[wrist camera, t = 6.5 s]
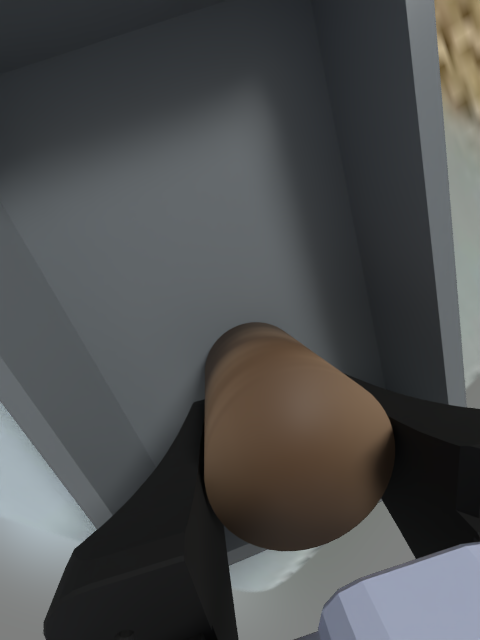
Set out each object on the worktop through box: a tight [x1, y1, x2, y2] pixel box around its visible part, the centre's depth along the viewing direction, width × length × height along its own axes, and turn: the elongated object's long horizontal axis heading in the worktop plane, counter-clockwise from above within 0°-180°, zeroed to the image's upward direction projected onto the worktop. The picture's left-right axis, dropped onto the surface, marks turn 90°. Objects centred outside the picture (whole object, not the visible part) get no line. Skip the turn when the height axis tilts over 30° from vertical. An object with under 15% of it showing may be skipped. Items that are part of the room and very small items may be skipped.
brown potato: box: [204, 322, 395, 551], centre depth 10 cm, size 5×5×7 cm
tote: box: [0, 0, 467, 565], centre depth 11 cm, size 16×22×5 cm
